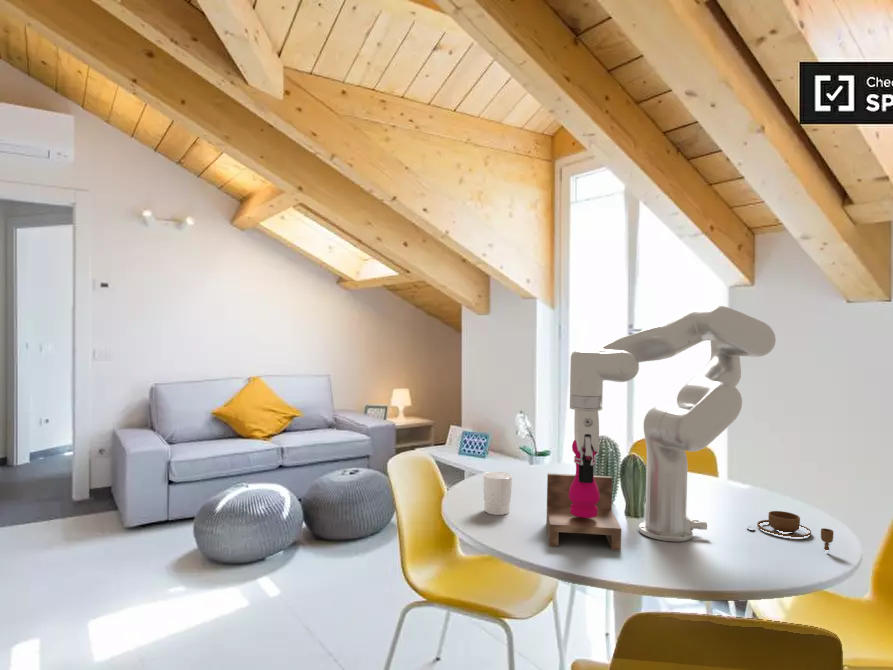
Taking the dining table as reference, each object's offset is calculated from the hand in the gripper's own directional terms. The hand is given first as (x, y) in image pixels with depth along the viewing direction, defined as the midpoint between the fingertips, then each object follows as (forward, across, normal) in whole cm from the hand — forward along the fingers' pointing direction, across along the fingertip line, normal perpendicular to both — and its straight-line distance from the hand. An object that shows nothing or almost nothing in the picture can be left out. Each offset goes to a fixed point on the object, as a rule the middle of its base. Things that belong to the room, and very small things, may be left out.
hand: (584, 478), depth 141 cm
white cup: (+15, +19, +21) cm, 32 cm away
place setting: (+16, +12, -51) cm, 54 cm away
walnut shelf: (+15, +3, 0) cm, 15 cm away
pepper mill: (+9, 0, 0) cm, 9 cm away
